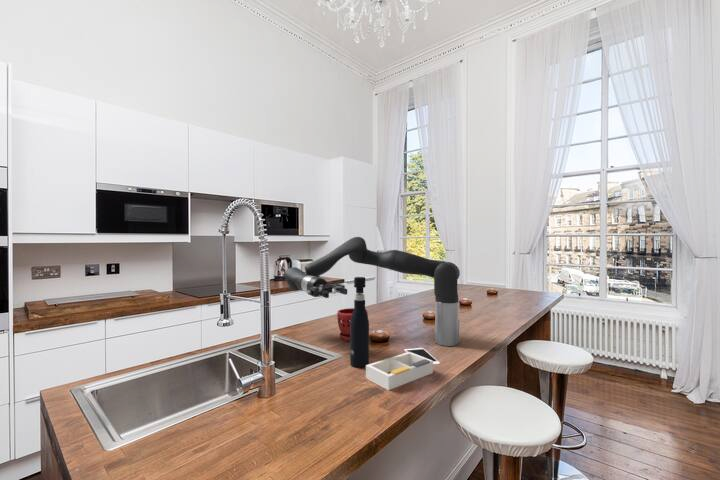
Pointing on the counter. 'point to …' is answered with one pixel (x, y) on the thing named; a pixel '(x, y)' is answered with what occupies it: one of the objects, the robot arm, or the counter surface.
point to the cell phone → (423, 354)
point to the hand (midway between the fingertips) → (337, 293)
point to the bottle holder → (399, 370)
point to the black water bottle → (359, 328)
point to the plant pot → (345, 322)
